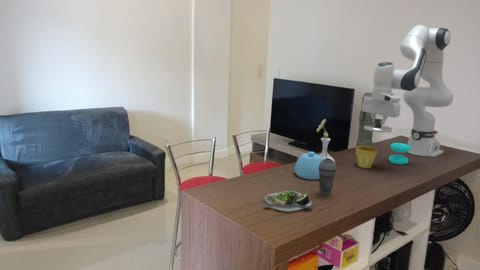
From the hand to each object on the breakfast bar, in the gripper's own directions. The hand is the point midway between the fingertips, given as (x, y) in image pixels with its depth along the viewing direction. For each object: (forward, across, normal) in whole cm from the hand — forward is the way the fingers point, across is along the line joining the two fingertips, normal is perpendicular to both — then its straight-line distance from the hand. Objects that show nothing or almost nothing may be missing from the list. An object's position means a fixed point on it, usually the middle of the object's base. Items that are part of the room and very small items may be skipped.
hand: (378, 123), depth 183 cm
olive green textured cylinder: (+23, -22, +19) cm, 37 cm away
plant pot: (+24, -4, -2) cm, 24 cm away
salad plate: (+25, +13, -66) cm, 72 cm away
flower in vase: (+24, -16, -20) cm, 35 cm away
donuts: (+24, 0, +20) cm, 31 cm away
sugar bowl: (+24, -8, -37) cm, 45 cm away
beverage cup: (+24, +13, -47) cm, 55 cm away
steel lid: (+3, 0, 0) cm, 3 cm away
